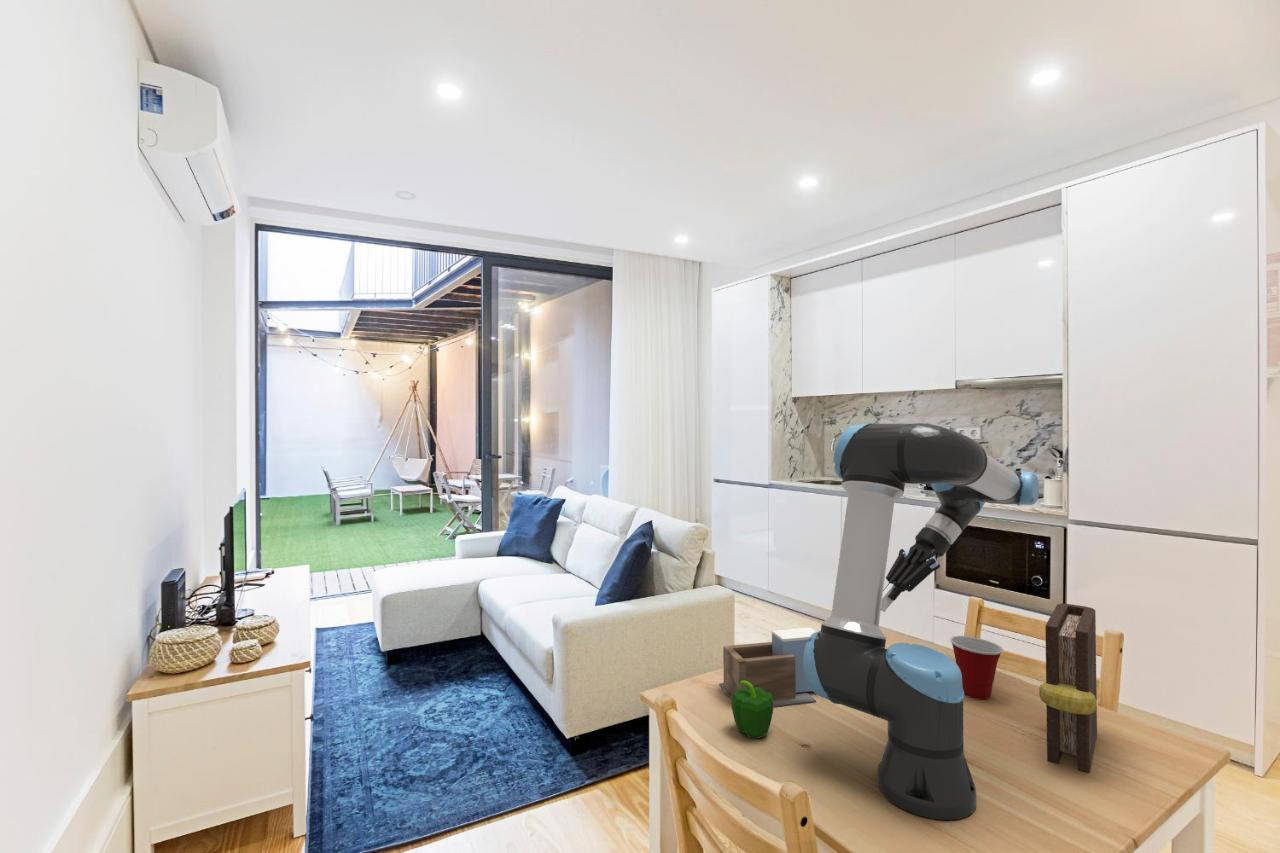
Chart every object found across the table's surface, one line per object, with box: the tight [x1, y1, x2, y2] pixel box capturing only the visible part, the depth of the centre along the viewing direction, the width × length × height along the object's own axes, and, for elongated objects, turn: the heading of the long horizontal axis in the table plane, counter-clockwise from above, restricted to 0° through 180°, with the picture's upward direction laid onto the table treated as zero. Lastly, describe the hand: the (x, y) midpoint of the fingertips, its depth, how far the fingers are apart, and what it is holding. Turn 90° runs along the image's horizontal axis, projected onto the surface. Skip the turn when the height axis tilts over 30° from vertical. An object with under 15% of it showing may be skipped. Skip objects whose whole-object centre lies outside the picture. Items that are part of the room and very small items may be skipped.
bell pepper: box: [731, 680, 774, 739], centre depth 123 cm, size 8×8×10 cm
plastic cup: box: [949, 635, 1004, 700], centre depth 140 cm, size 11×11×12 cm
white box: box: [771, 627, 817, 693], centre depth 143 cm, size 6×10×13 cm, turn 103°
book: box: [1038, 603, 1098, 774], centre depth 116 cm, size 22×8×25 cm, turn 139°
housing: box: [718, 641, 817, 708], centre depth 141 cm, size 14×18×10 cm
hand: (879, 607), depth 148 cm, fingers closed
